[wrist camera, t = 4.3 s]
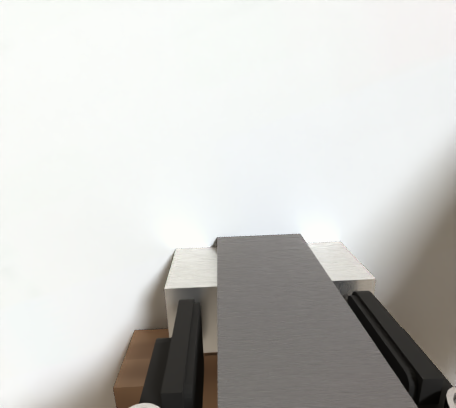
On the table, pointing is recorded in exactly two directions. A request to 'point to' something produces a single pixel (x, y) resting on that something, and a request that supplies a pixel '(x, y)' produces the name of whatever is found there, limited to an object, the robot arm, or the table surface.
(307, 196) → the table surface
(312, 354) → the cube with crossbar
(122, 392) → the slot board
